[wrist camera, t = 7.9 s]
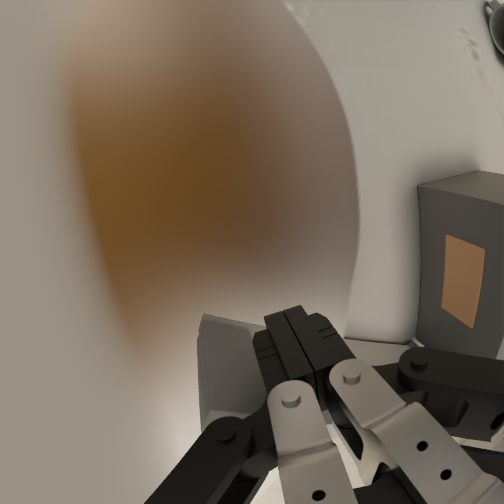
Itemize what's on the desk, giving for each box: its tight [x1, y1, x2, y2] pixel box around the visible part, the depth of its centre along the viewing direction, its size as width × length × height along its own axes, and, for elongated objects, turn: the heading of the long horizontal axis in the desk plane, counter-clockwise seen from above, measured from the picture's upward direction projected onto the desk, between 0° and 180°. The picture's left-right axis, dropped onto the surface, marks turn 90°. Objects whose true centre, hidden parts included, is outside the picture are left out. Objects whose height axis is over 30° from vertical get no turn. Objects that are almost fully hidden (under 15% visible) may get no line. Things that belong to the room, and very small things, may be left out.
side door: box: [197, 314, 419, 438], centre depth 13 cm, size 17×2×7 cm, turn 71°
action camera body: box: [416, 171, 504, 360], centre depth 13 cm, size 14×10×9 cm
